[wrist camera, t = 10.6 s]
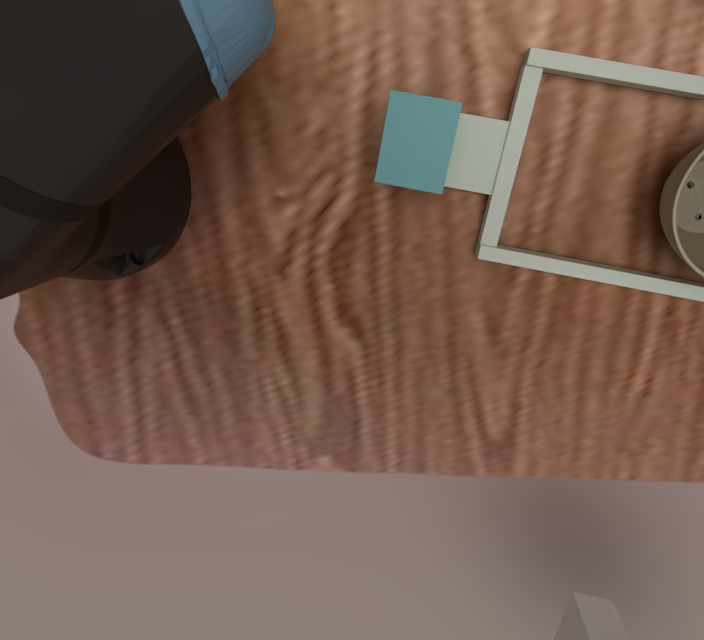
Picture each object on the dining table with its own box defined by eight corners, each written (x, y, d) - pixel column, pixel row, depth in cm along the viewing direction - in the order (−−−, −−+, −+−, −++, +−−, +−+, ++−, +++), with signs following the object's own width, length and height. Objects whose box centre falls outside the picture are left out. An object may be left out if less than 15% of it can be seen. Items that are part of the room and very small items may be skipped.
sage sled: (371, 233, 41) (360, 256, 33) (408, 32, 37) (407, -2, 28) (740, 304, 40) (830, 347, 31) (826, 104, 35) (958, 91, 27)
